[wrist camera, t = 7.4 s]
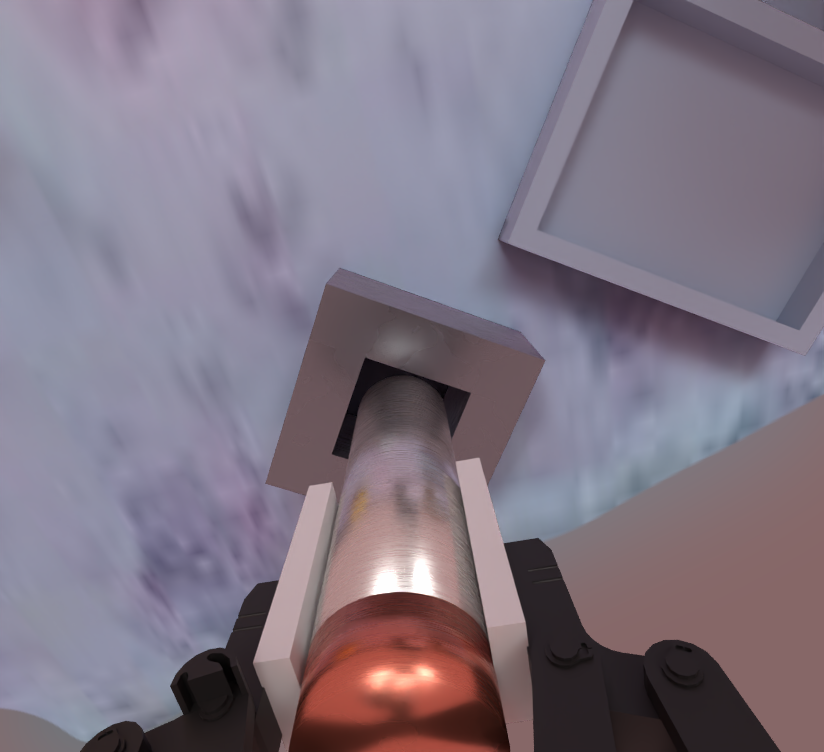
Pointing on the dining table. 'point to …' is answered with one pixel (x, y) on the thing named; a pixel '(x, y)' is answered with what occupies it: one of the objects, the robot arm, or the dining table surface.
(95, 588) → the dining table surface
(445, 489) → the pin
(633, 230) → the tray
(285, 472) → the receiver
